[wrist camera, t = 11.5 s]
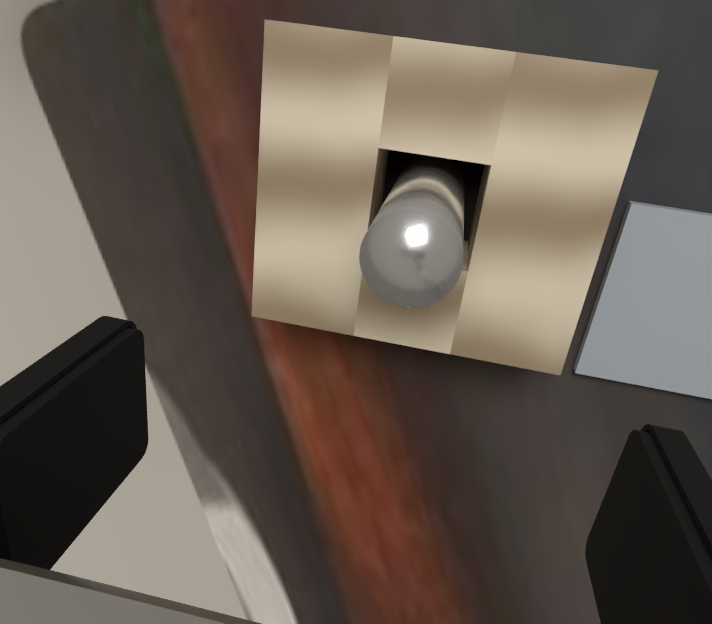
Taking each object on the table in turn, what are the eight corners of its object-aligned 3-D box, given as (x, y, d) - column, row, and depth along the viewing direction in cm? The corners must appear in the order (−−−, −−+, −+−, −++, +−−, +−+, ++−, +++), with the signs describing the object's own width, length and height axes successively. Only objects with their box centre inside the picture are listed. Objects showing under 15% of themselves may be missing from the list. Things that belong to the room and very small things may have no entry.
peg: (457, 226, 31) (451, 316, 20) (392, 215, 31) (353, 298, 21) (470, 159, 29) (472, 218, 19) (402, 149, 30) (366, 201, 19)
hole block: (547, 331, 32) (560, 375, 28) (280, 282, 34) (251, 316, 30) (626, 68, 27) (658, 70, 22) (297, 25, 28) (264, 19, 24)
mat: (753, 402, 32) (758, 408, 31) (573, 367, 33) (574, 373, 33) (838, 233, 28) (845, 236, 27) (628, 200, 29) (631, 203, 28)
